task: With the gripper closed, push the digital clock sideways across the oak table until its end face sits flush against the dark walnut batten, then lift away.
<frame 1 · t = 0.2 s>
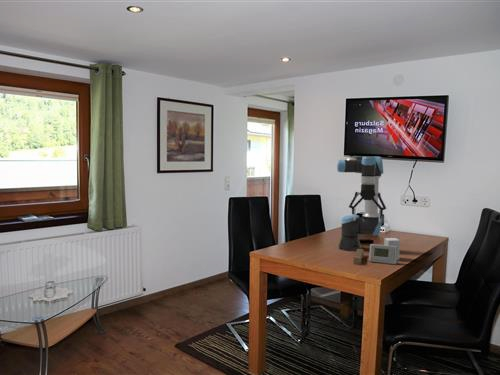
hand: (366, 221, 226), 28 cm above the table, tool pointing down, fingers open, 13 cm apart
supplement box: (391, 258, 251), on the table
walnut batten: (358, 259, 248), on the table
digital clock: (382, 263, 241), on the table
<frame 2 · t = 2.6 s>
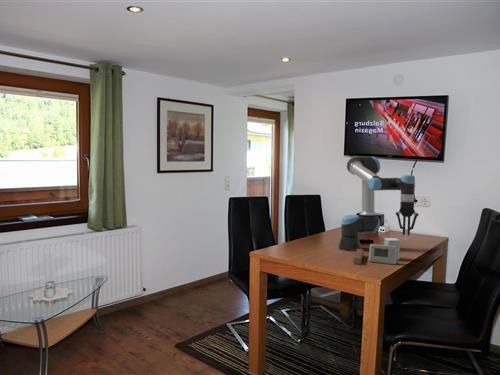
hand: (406, 240, 236), 15 cm above the table, tool pointing down, fingers closed
nothing on the table moved.
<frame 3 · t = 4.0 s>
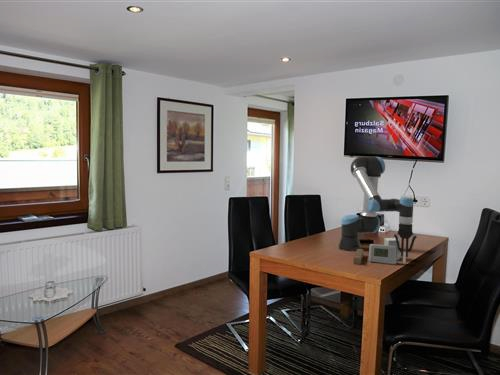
hand: (404, 262, 237), 1 cm above the table, tool pointing down, fingers closed
nothing on the table moved.
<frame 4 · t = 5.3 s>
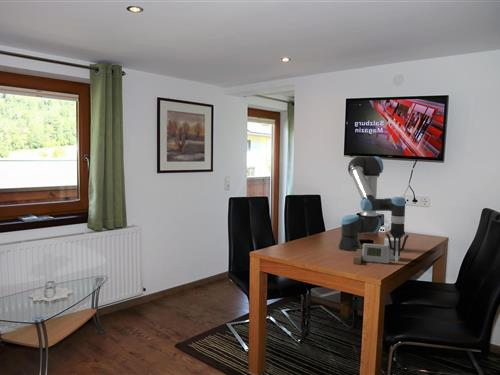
hand: (396, 261, 239), 1 cm above the table, tool pointing down, fingers closed
digital clock: (375, 262, 243), on the table, touching hand
everything else where it was.
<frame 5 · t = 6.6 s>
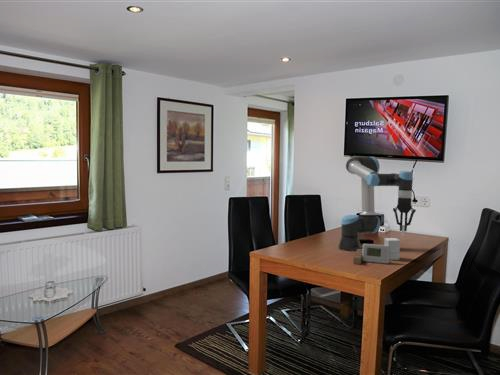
hand: (402, 236, 237), 17 cm above the table, tool pointing down, fingers closed
digital clock: (375, 262, 242), on the table
everything else where it was.
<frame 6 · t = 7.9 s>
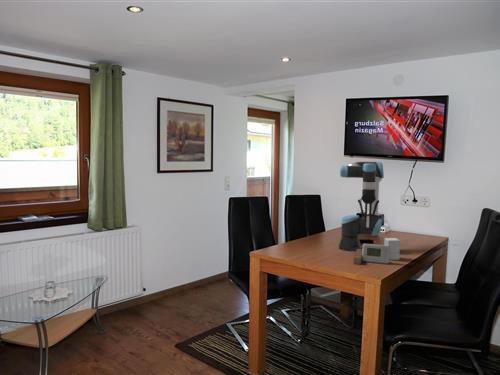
hand: (367, 226, 243), 21 cm above the table, tool pointing down, fingers closed
nothing on the table moved.
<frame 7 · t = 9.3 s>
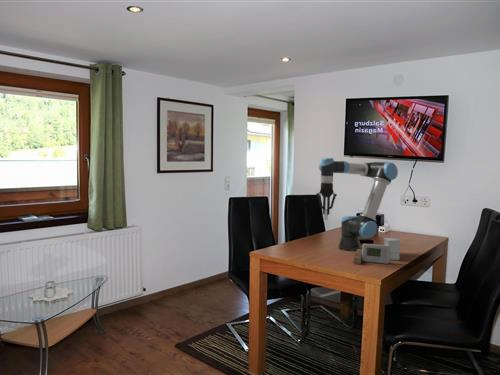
hand: (326, 219, 250), 24 cm above the table, tool pointing down, fingers closed
nothing on the table moved.
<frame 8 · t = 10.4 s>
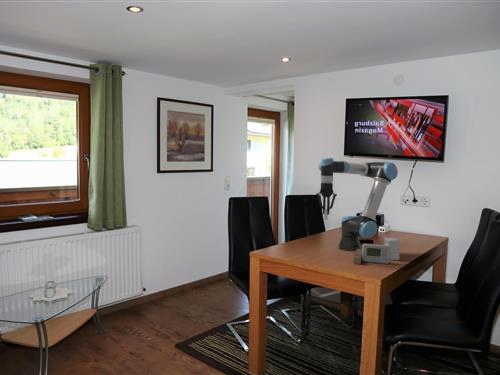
hand: (325, 219, 250), 24 cm above the table, tool pointing down, fingers closed
nothing on the table moved.
at the end: digital clock inside the target area on the table beside the walnut batten (1.1 cm from its centre), on the table; digital clock tilted 0° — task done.
